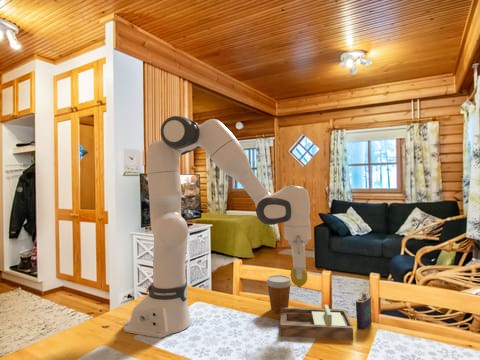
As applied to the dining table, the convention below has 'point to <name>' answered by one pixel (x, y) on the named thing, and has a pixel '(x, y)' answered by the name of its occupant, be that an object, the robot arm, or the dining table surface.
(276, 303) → the disposable coffee cup
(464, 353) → the dining table surface
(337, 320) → the cover
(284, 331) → the wooden tray
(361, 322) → the flask
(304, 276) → the lemon
